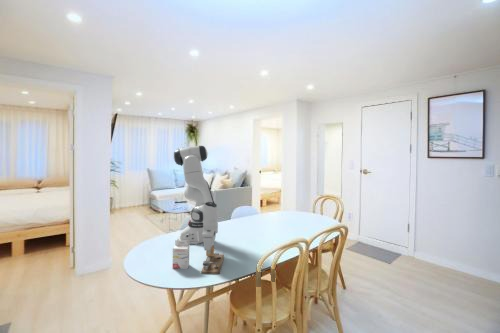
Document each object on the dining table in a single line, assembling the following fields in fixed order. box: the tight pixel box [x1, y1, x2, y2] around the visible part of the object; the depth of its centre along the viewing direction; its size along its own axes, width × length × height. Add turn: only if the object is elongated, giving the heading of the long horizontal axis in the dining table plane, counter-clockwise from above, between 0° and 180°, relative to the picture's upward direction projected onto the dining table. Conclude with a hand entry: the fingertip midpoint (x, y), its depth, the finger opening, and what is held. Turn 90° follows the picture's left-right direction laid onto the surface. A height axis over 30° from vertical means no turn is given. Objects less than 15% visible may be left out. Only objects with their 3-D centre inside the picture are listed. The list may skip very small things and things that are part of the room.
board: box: [200, 253, 225, 275], centre depth 144 cm, size 10×22×4 cm, turn 0°
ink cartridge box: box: [172, 239, 190, 270], centre depth 140 cm, size 9×5×15 cm, turn 92°
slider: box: [205, 244, 220, 258], centre depth 150 cm, size 8×4×7 cm, turn 90°
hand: (210, 251), depth 150 cm, fingers closed on slider, 4 cm apart
